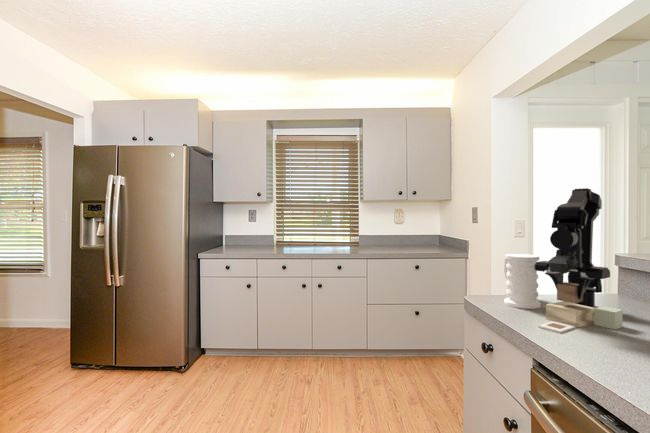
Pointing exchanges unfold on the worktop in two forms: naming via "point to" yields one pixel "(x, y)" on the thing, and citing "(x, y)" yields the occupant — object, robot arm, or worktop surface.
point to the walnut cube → (568, 292)
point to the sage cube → (608, 317)
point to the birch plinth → (570, 314)
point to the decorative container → (522, 281)
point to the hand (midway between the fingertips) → (570, 297)
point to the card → (556, 327)
